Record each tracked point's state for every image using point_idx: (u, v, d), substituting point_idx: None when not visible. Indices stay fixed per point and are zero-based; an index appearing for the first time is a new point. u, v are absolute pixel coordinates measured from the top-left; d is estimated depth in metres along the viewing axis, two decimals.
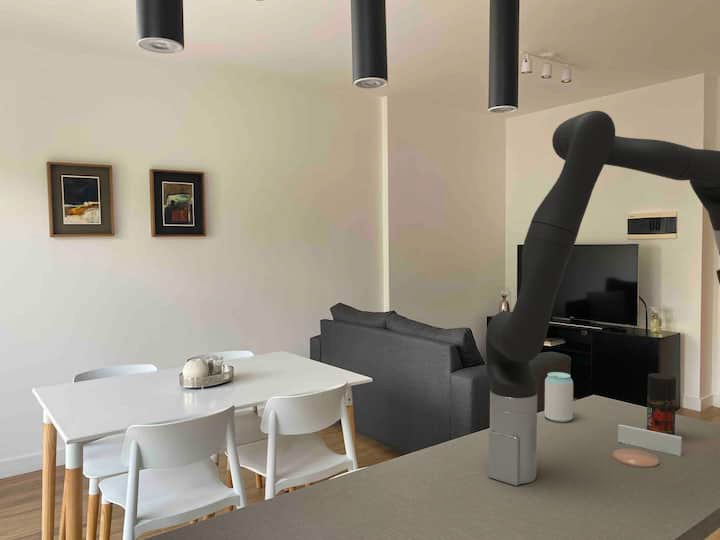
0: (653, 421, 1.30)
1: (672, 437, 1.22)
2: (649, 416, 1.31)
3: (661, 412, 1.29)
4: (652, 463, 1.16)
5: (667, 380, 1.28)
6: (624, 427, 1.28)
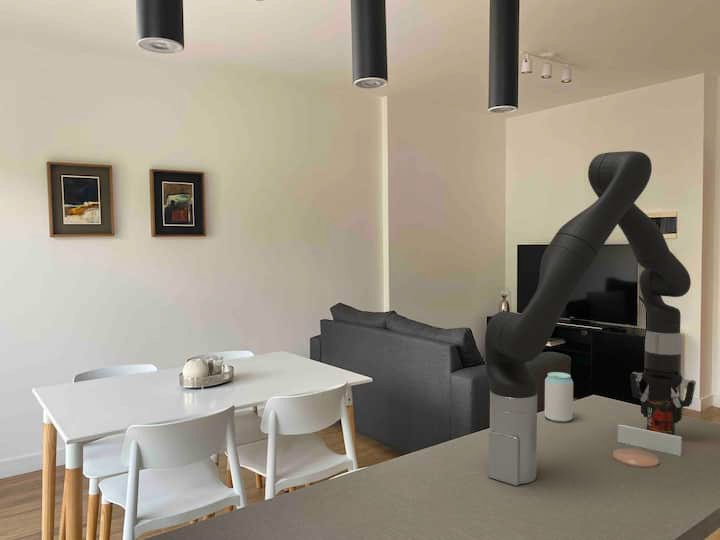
0: (653, 421, 1.30)
1: (672, 437, 1.22)
2: (649, 416, 1.31)
3: (661, 412, 1.29)
4: (652, 463, 1.16)
5: (667, 380, 1.28)
6: (624, 427, 1.28)
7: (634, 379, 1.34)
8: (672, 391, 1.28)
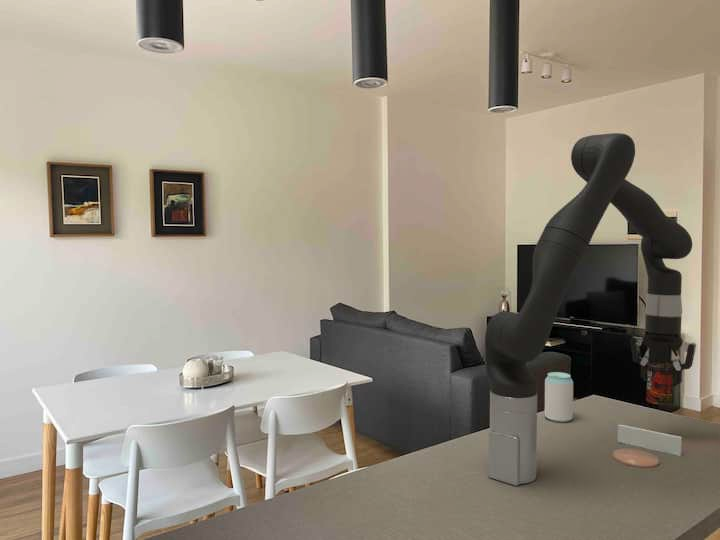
0: (653, 384, 1.30)
1: (672, 437, 1.22)
2: (649, 380, 1.31)
3: (661, 375, 1.29)
4: (652, 463, 1.16)
5: (667, 343, 1.28)
6: (624, 427, 1.28)
7: (634, 343, 1.34)
8: (672, 354, 1.28)
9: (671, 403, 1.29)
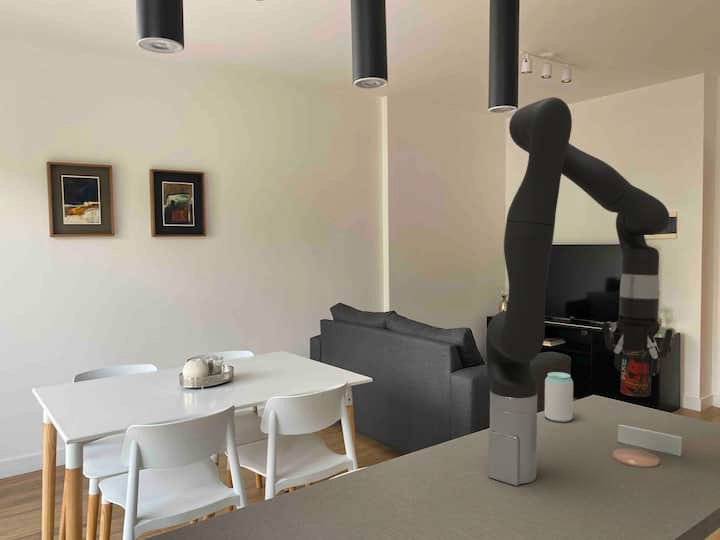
0: (627, 374, 1.17)
1: (672, 437, 1.22)
2: (623, 369, 1.18)
3: (636, 364, 1.16)
4: (652, 463, 1.16)
5: (643, 327, 1.15)
6: (624, 427, 1.28)
7: (607, 329, 1.21)
8: (648, 340, 1.15)
9: (647, 394, 1.16)
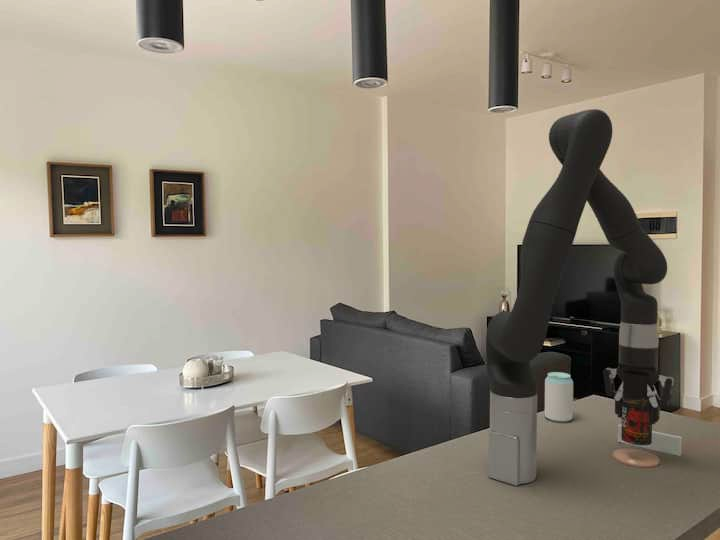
0: (628, 422, 1.18)
1: (672, 437, 1.22)
2: (623, 416, 1.19)
3: (636, 412, 1.16)
4: (652, 463, 1.16)
5: (643, 376, 1.15)
6: None
7: (607, 376, 1.21)
8: (648, 389, 1.16)
9: (648, 443, 1.17)
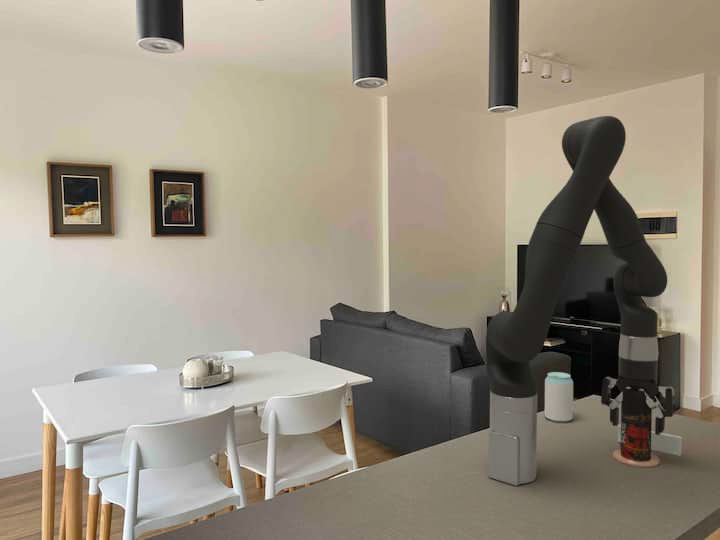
0: (627, 438, 1.18)
1: (672, 437, 1.22)
2: (623, 432, 1.19)
3: (635, 428, 1.17)
4: (652, 463, 1.16)
5: (642, 392, 1.16)
6: None
7: (606, 385, 1.22)
8: (650, 400, 1.15)
9: (647, 459, 1.17)
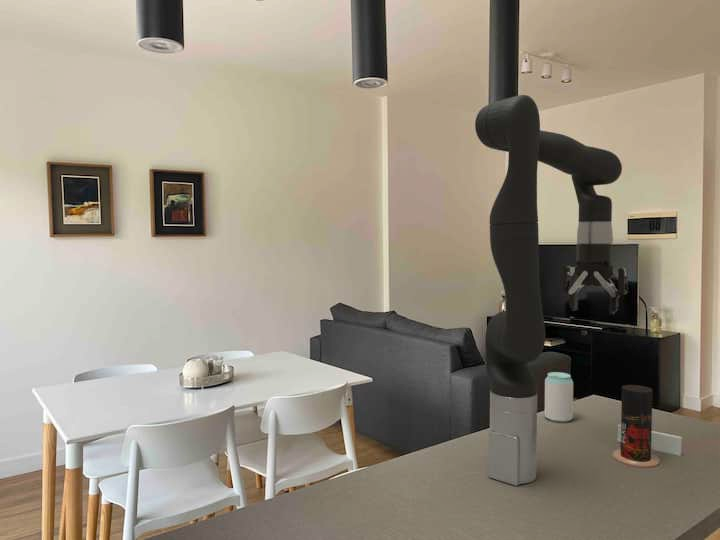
0: (627, 438, 1.18)
1: (672, 437, 1.22)
2: (623, 433, 1.19)
3: (635, 429, 1.16)
4: (652, 463, 1.16)
5: (642, 393, 1.16)
6: None
7: (566, 272, 1.30)
8: (604, 281, 1.23)
9: (647, 459, 1.17)
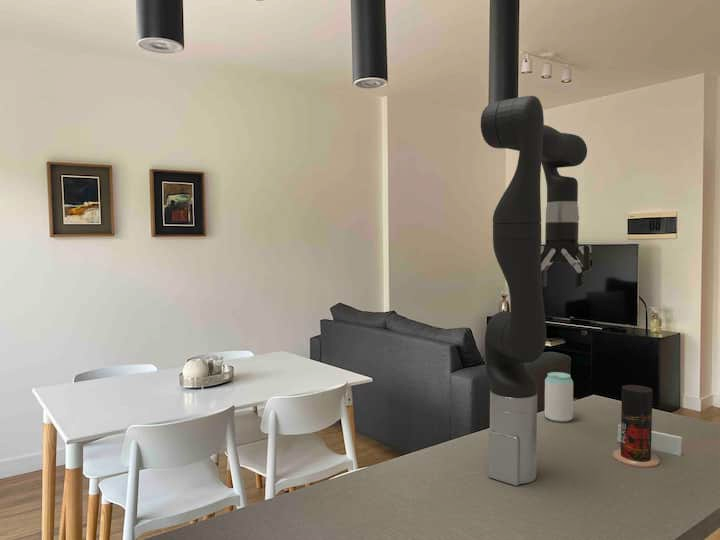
0: (627, 438, 1.18)
1: (672, 437, 1.22)
2: (623, 433, 1.19)
3: (635, 429, 1.16)
4: (652, 463, 1.16)
5: (642, 393, 1.16)
6: None
7: None
8: (571, 258, 1.30)
9: (647, 459, 1.17)
